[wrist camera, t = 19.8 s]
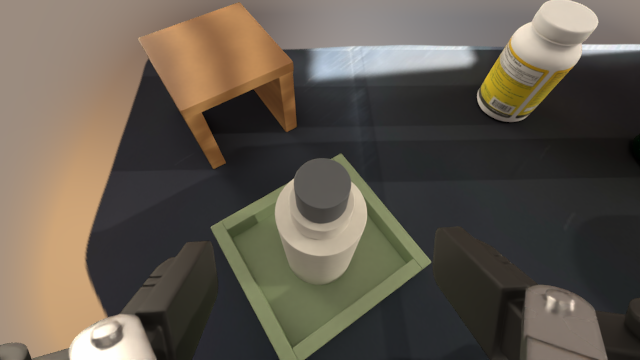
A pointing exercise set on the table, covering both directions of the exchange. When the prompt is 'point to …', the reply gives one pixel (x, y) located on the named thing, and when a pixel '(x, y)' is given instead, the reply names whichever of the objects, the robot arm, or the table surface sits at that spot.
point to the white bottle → (320, 221)
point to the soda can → (636, 147)
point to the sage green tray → (308, 299)
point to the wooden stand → (221, 69)
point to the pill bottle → (536, 60)
